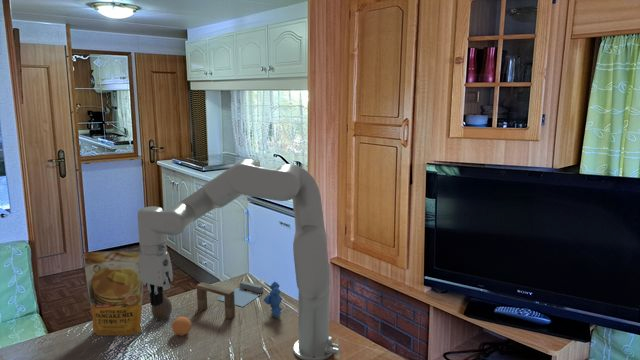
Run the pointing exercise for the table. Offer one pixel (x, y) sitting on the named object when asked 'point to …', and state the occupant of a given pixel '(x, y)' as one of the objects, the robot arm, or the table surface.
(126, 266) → the pancake mix bag
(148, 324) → the table surface
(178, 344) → the table surface
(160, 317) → the vase
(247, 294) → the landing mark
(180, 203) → the robot arm
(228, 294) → the bridge
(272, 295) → the blue lumpy cluster
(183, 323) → the ball
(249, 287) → the stopper wall
